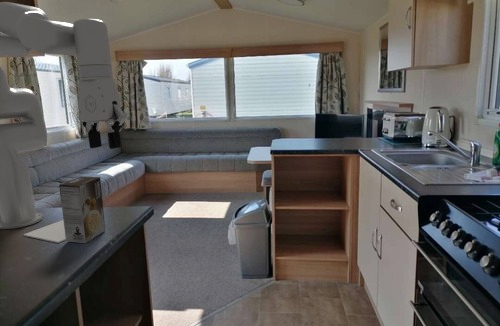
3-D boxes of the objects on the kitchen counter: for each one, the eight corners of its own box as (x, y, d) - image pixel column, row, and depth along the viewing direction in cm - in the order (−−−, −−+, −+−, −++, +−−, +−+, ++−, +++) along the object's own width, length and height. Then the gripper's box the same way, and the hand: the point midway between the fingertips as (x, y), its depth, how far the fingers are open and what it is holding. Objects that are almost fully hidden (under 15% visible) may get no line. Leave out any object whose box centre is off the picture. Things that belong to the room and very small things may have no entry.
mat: (23, 235, 105) (23, 234, 105) (66, 219, 117) (66, 218, 117) (58, 243, 98) (58, 241, 98) (100, 225, 110) (100, 224, 110)
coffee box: (86, 228, 107) (81, 175, 103) (106, 230, 105) (101, 176, 102) (64, 241, 98) (58, 184, 94) (86, 243, 97) (80, 185, 93)
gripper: (58, 76, 89) (69, 149, 92) (109, 71, 81) (119, 151, 84) (84, 76, 95) (93, 144, 99) (134, 71, 87) (142, 146, 91)
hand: (105, 147), depth 91 cm, fingers open, 6 cm apart
